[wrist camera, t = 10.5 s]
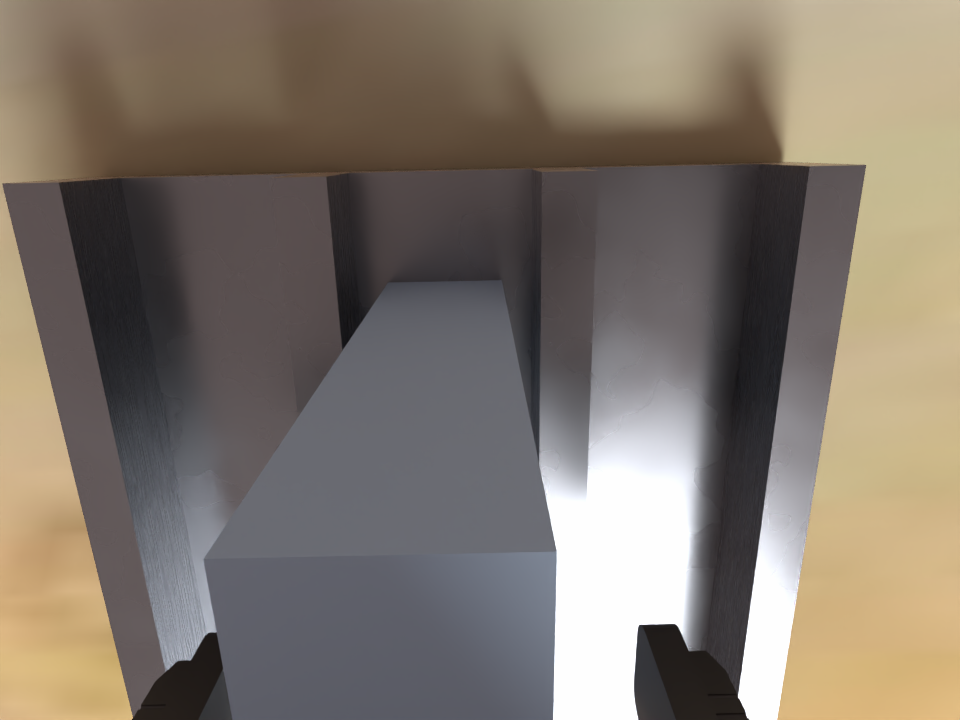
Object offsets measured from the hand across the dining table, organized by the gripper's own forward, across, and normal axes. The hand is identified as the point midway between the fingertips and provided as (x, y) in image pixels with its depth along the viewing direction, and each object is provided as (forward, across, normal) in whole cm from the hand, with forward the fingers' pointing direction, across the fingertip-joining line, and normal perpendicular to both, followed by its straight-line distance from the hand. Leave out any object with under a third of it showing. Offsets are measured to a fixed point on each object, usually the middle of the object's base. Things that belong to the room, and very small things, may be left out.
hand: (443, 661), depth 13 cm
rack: (+7, 0, 0) cm, 7 cm away
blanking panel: (+6, 0, -1) cm, 6 cm away
